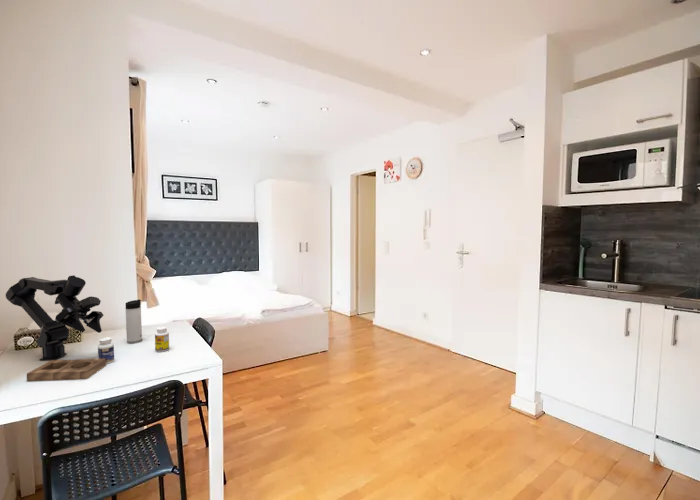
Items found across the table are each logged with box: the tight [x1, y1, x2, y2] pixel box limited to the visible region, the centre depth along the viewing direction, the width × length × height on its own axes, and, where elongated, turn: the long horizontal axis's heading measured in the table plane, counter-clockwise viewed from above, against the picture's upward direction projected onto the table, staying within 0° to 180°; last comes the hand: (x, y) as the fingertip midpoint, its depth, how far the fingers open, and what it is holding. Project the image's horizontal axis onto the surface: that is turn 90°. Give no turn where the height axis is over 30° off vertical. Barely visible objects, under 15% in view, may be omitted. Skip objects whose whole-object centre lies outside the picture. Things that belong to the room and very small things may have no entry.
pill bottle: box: [97, 336, 115, 365], centre depth 142 cm, size 5×5×10 cm
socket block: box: [26, 358, 107, 382], centre depth 131 cm, size 20×12×3 cm, turn 96°
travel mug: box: [124, 299, 143, 344], centre depth 166 cm, size 6×7×20 cm
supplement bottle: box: [154, 326, 170, 353], centre depth 155 cm, size 6×6×10 cm
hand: (92, 331), depth 138 cm, fingers open, 9 cm apart
